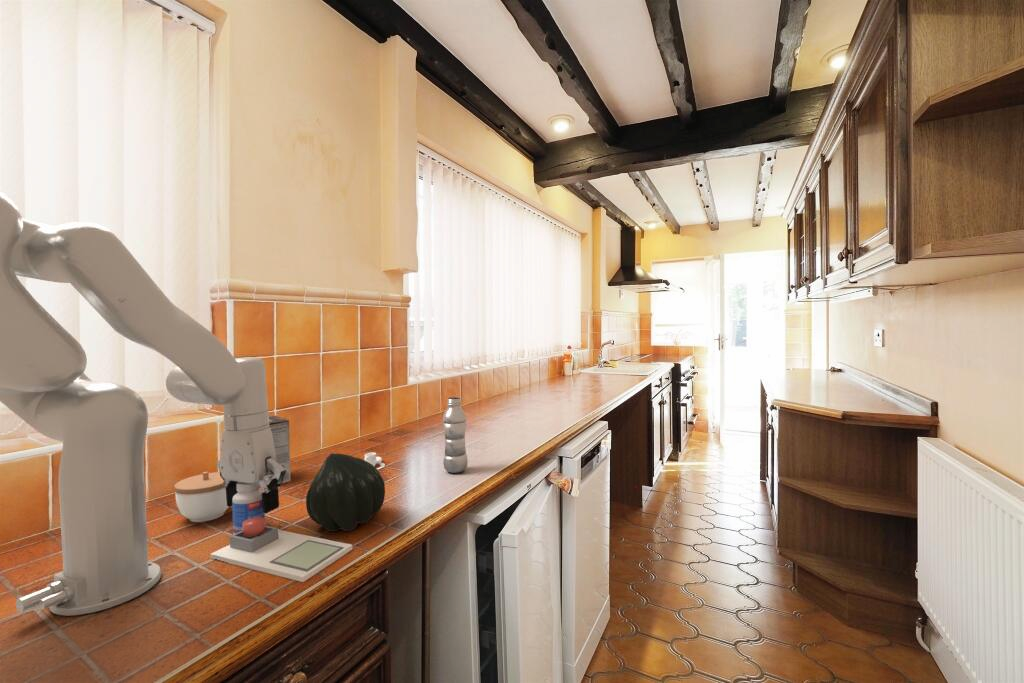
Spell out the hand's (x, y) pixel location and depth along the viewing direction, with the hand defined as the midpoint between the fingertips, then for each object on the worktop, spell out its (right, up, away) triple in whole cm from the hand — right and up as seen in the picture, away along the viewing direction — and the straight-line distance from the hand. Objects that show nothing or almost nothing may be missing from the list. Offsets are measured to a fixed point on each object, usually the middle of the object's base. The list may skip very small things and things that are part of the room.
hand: (253, 506), depth 89 cm
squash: (+18, -4, +2) cm, 18 cm away
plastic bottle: (+36, -3, +33) cm, 49 cm away
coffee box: (-11, -4, +28) cm, 31 cm away
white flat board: (+11, -5, -10) cm, 15 cm away
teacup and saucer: (+14, -4, +40) cm, 43 cm away
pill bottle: (0, -5, -1) cm, 5 cm away
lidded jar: (-14, -5, +7) cm, 16 cm away
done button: (+5, -2, -7) cm, 9 cm away
